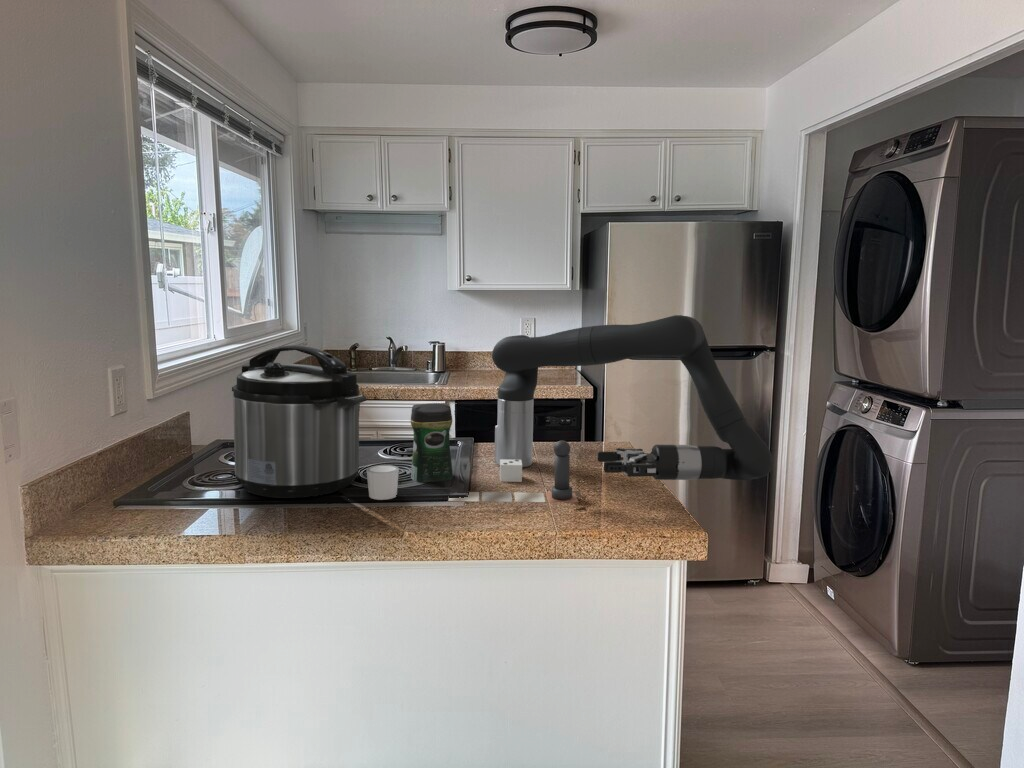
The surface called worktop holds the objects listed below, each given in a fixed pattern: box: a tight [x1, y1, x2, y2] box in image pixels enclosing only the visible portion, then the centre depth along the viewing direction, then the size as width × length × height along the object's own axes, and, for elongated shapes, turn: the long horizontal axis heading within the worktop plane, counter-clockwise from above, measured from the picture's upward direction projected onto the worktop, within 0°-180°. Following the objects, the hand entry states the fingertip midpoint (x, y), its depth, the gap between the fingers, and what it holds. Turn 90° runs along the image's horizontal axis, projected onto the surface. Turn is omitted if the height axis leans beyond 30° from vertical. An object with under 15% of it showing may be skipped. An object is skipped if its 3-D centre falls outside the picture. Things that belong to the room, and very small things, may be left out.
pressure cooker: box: [231, 344, 367, 499], centre depth 156 cm, size 30×28×32 cm
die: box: [499, 459, 523, 483], centre depth 162 cm, size 5×5×5 cm
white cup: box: [366, 464, 400, 501], centre depth 147 cm, size 7×7×7 cm
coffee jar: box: [409, 402, 454, 483], centre depth 161 cm, size 10×8×19 cm
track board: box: [447, 490, 587, 511], centre depth 148 cm, size 30×10×1 cm, turn 92°
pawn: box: [551, 440, 573, 500], centre depth 148 cm, size 4×4×12 cm
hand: (600, 461), depth 148 cm, fingers open, 8 cm apart
